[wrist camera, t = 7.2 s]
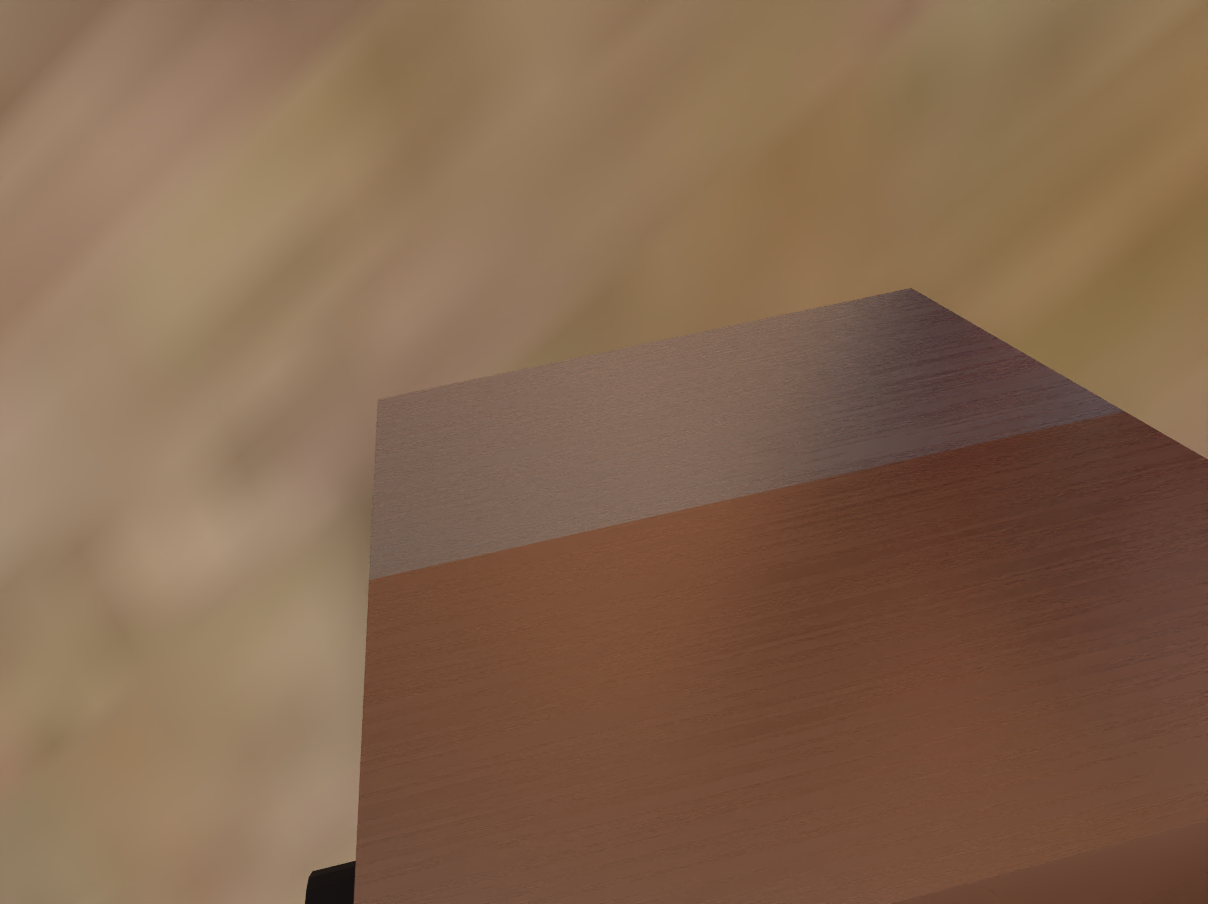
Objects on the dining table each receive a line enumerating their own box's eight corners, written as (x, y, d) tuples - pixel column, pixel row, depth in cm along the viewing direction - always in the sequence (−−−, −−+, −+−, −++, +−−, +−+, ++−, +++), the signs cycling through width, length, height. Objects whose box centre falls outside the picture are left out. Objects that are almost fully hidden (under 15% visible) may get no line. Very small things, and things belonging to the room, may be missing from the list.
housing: (911, 287, 12) (1637, 709, 5) (938, 836, 16) (1408, 1570, 8) (376, 399, 12) (349, 1046, 5) (518, 944, 15) (632, 1830, 8)
